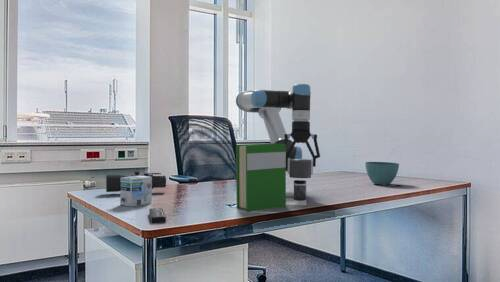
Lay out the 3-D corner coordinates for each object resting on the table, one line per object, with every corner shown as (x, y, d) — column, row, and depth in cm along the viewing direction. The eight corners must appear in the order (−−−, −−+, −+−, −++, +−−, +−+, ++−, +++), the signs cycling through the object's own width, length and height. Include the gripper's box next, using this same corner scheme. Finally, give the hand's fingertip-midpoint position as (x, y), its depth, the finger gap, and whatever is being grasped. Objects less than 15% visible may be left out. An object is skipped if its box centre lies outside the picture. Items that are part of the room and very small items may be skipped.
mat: (275, 205, 160) (275, 204, 160) (278, 198, 176) (278, 197, 176) (306, 206, 159) (306, 205, 159) (306, 199, 175) (306, 198, 175)
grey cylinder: (289, 177, 168) (289, 159, 168) (289, 175, 177) (290, 158, 177) (311, 178, 167) (311, 160, 167) (310, 176, 176) (310, 158, 175)
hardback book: (247, 211, 146) (246, 145, 145) (236, 208, 152) (236, 144, 151) (285, 206, 156) (285, 143, 155) (274, 203, 162) (273, 143, 161)
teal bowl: (403, 184, 231) (404, 163, 231) (390, 187, 218) (391, 164, 217) (373, 181, 243) (373, 161, 243) (359, 184, 230) (359, 162, 230)
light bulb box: (131, 207, 152) (131, 178, 152) (119, 205, 156) (119, 177, 155) (152, 203, 161) (152, 176, 161) (140, 201, 165) (140, 175, 165)
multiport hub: (151, 224, 126) (151, 217, 126) (149, 215, 140) (149, 208, 140) (165, 223, 127) (166, 216, 127) (162, 214, 141) (162, 208, 141)
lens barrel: (293, 200, 170) (293, 181, 170) (293, 198, 175) (293, 179, 175) (306, 200, 169) (306, 181, 169) (306, 198, 174) (306, 180, 174)
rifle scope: (166, 194, 185) (167, 172, 185) (106, 196, 176) (106, 173, 176) (163, 190, 195) (163, 170, 195) (106, 192, 186) (106, 171, 186)
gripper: (274, 120, 169) (273, 174, 169) (327, 120, 166) (326, 175, 167) (275, 121, 176) (275, 172, 177) (326, 121, 174) (325, 173, 174)
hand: (300, 174), depth 172 cm, fingers closed on grey cylinder, 9 cm apart
